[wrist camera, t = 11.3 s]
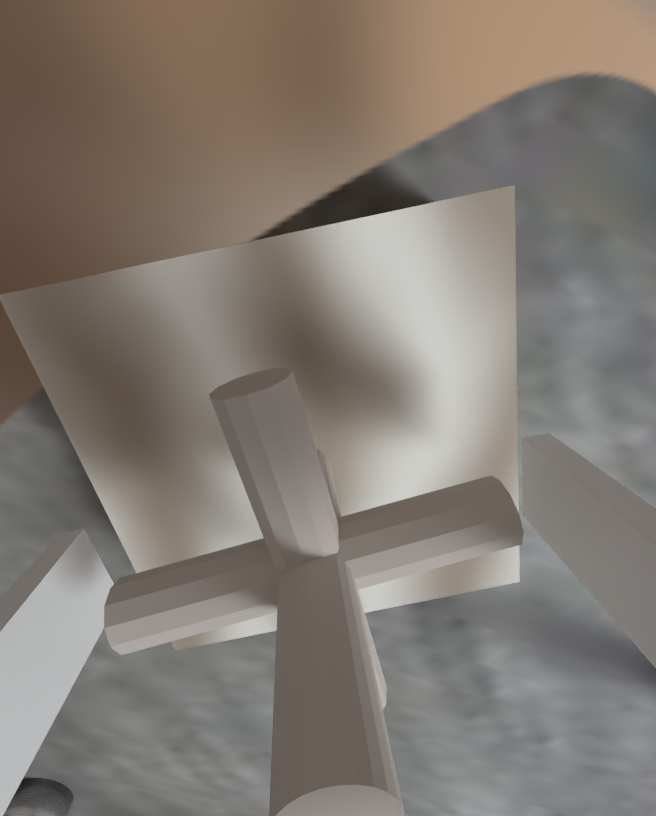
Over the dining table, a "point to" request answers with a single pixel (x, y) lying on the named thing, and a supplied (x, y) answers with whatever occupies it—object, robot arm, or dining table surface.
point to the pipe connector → (310, 594)
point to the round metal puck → (40, 799)
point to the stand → (313, 370)
